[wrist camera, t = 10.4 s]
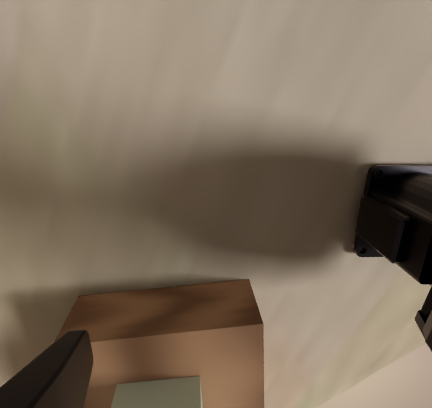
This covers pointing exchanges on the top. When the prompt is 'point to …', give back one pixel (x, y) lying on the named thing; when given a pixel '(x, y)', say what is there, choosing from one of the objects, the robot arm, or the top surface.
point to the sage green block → (159, 394)
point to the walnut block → (175, 341)
